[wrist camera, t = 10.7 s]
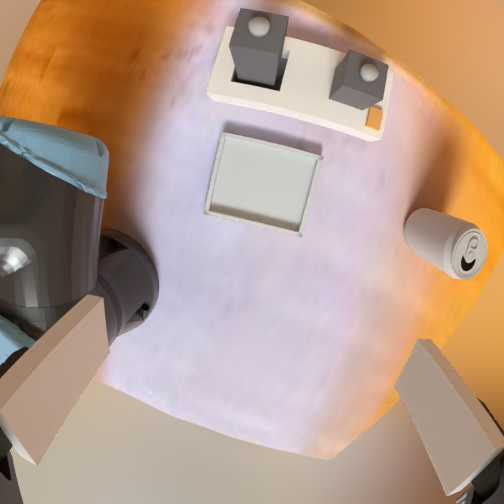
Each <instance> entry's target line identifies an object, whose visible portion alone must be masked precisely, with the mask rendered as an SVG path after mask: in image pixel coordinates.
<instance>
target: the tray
mask: <svg viewBox="0 0 504 504" xmlns="http://www.w3.org/2000/svg"><path fill="white" fill-rule="evenodd" d="M322 159H323V156H320V155H316V154H313V153H309V152H306V151H302V150H298V149H295V148H291V147H287V146H283V145H279V144H275V143H271V142H267V141H263V140H258V139H254V138H250V137H245V136H240V135H235V134H230V133H225V132H222V134H221V138H220V142H219V146H218V150H217V155H216V159H215V163H214V168H213V172H212V177H211V181H210V186H209V191H208V195H207V200H206V205H205V210H204V214H205V215H210V216H214V217H218V218H223V219H227V220H231V221H236V222H240V223H244V224H248V225H253V226H257V227H261V228H265V229H269V230H273V231H278V232H282V233H286V234H290V235H294V236H298V237H302V234H303V231H304V227H305V224H306V220H307V216H308V213H309V209H310V205H311V202H312V198H313V194H314V190H315V187H316V183H317V179H318V175H319V171H320V167H321V163H322Z"/></svg>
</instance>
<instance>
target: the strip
mask: <svg viewBox="0 0 504 504" xmlns="http://www.w3.org/2000/svg"><path fill="white" fill-rule="evenodd" d="M233 30H234V27H229V26H226V29H225V32H224V35H223V38H222V41H221V44H220V47H219V50H218V54H217V57H216V60H215V64H214V67H213V70H212V74H211V77H210V81H209V84H208V88H207V91H206V93H207V95H208V96H209V97H210V98H211V100H212V101H218V102H224V103H230V104H235V105H240V106H245V107H250V108H255V109H260V110H264V111H268V112H273V113H277V114H281V115H285V116H289V117H293V118H296V119H300V120H304V121H307V122H311V123H314V124H318V125H321V126H324V127H328V128H331V129H334V130H337V131H340V132H343V133H346V134H349V135H352V136H355V137H358V138H361V139H363V140H366V141H369V142H370V141H376V140H381V139H382V135H383V131H384V126H385V121H386V116H387V110H388V105H389V100H390V94H391V88H392V82H393V75H394V72H392V71H389V70H388V66H389V65H387V64H384V63H382V62H380V61H377V60H375V59H372V58H370V57H367V56H365V55H362V54H359V53H357V52H354V51H351V50H350V51H349V52H348V53H347V54H346V53H343V52H340V51H337V50H334V49H331V48H328V47H324V46H321V45H317V44H314V43H310V42H307V41H303V40H299V39H295V38H291V37H286V36H285V41H284V46H283V52H282V57H281V63H280V67H279V71H278V74H277V78H276V82H275V86H274V90H271V89H267V88H262V87H257V86H252V85H247V84H242V83H240V82H239V79H238V75H237V72H236V68H235V65H234V62H233V58H232V55H231V51H230V48H229V42H230V39H231V36H232V33H233Z"/></svg>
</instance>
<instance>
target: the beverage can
mask: <svg viewBox="0 0 504 504" xmlns="http://www.w3.org/2000/svg"><path fill="white" fill-rule="evenodd" d="M404 238H405V242H406V244H407V246H408V247H409V248H410V249H411V250H412V251H413V252H415V253H417V254H418V255H420V256H421V257H423V258H424V259H426V260H427V261H429V262H430V263H432V264H433V265H435V266H436V267H438V268H439V269H441V270H442V271H444V272H445V273H447V274H448V275H449V276H451V277H452V278H455V279H462V280H468V279H471V278H473V277H474V276H476V275H477V274H478V273H479V271H480V270H481V269H482V267H483V265H484V263H485V260H486V257H487V250H488V246H487V240H486V237H485V235H484V234H483V232H482V231H480V230H479V228H478V227H477V226H476V225H474V224H473V223H470V222H467V221H465V220H462V219H459V218H456V217H453V216H450V215H447V214H444V213H441V212H438V211H435V210H432V209H429V208H420V209H417V210H415V211H414V212H413V213H412V214H411V215H410V216H409V218H408V219H407V221H406V224H405V228H404Z"/></svg>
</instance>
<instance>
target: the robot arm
mask: <svg viewBox="0 0 504 504" xmlns="http://www.w3.org/2000/svg"><path fill="white" fill-rule="evenodd" d="M108 165H109V151H108V149H107V147H106V145H105V144H104V142H103V141H101V140H100V139H98V138H96V137H93V136H90V135H87V134H84V133H80V132H77V131H73V130H69V129H65V128H61V127H57V126H53V125H48V124H44V123H39V122H34V121H29V120H23V119H16V118H9V117H5V116H0V504H23V501H22V497H21V494H20V490H19V486H18V482H17V478H16V473H15V469H14V464H13V459H12V455H11V453H10V451H9V450H10V449H11V447H12V446H13V447H14V448H15V449H16V451H17V452H18V453H19V455H20V456H22V457H23V458H25V459H27V460H28V461H30V462H32V463H33V464H35V465H36V466H38V464H39V463H40V461H41V459H42V457H43V456H44V454H45V452H46V451H47V449H48V447H49V445H50V444H51V442H52V440H53V439H54V437H55V435H56V434H57V432H58V430H59V429H60V427H61V426H62V424H63V422H64V421H65V419H66V418H67V416H68V414H69V413H70V411H71V410H72V408H73V407H74V405H75V403H76V402H77V400H78V399H79V397H80V396H81V394H82V393H83V391H84V390H85V388H86V387H87V385H88V384H89V382H90V380H91V379H92V377H93V376H94V375H95V373H96V372H97V370H98V369H99V367H100V366H101V364H102V363H103V361H104V360H105V358H106V357H107V356H108V354H109V353H110V352H109V347H110V345H111V344H112V343H113V341H114V340H115V338H116V337H117V336H120V335H122V334H124V333H126V332H128V331H130V330H132V329H134V328H136V327H138V326H139V325H141V324H142V323H143V322H144V321H145V320H146V319H147V317H148V316H149V315H150V313H151V312H152V310H153V309H154V307H155V305H156V302H157V298H158V278H157V274H156V271H155V268H154V266H153V263H152V261H151V259H150V258H149V256H148V255H147V253H146V252H145V251H144V249H143V248H142V247H141V246H140V245H139V244H138V243H137V242H136V241H135V240H133V239H132V238H131V237H129V236H127V235H126V234H124V233H121V232H119V231H115V230H110V229H101V223H102V215H103V208H104V201H105V199H106V198H107V191H106V183H107V174H108ZM395 388H396V390H397V392H398V394H399V396H400V398H401V400H402V402H403V404H404V406H405V408H406V410H407V411H408V413H409V415H410V418H411V419H412V421H413V424H414V426H415V428H416V430H417V432H418V434H419V436H420V438H421V440H422V442H423V444H424V446H425V449H426V451H427V453H428V455H429V457H430V459H431V462H432V464H433V466H434V468H435V471H436V473H437V475H438V477H439V480H440V482H441V484H442V487H443V489H444V492H445V494H446V496H448V495H451V494H453V493H455V492H458V491H460V490H462V489H463V488H464V487H465V486H466V485H467V484H469V482H472V484H473V486H471V487H470V489H468V490H467V491H466V492H465V493H463V494H462V495H461V496H460V497H458V498H457V500H456V503H458V502H459V501H460V500H462V499H463V498H464V497H466V499H464V500H463V501H462V502H461V503H460V504H504V431H503V430H502V428H501V427H500V425H499V424H498V422H497V421H496V420H494V417H493V415H492V414H491V413H490V411H489V410H488V408H487V407H486V405H485V404H484V403H483V402H482V401H481V400H479V399H478V398H477V397H476V396H475V395H474V393H473V392H472V391H471V390H470V388H469V387H468V385H467V384H466V383H465V381H464V380H463V379H462V378H461V376H460V375H459V374H458V373H457V371H456V370H455V369H454V367H453V366H452V365H451V364H450V362H449V361H448V360H447V359H446V357H445V356H444V355H443V354H442V353H441V351H440V350H439V349H438V348H437V346H436V345H435V344H434V343H433V342H432V340H431V339H417V342H416V344H415V346H414V348H413V350H412V352H411V355H410V357H409V359H408V361H407V363H406V365H405V367H404V369H403V371H402V373H401V375H400V377H399V378H398V380H397V382H396V384H395Z"/></svg>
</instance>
